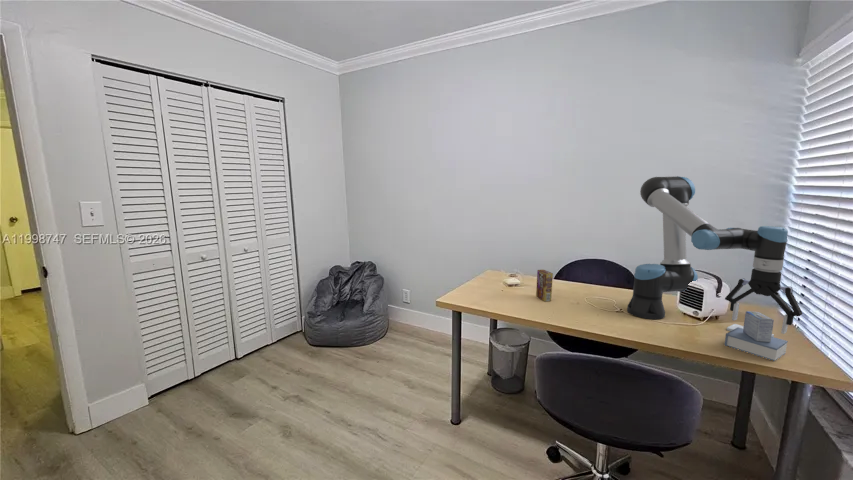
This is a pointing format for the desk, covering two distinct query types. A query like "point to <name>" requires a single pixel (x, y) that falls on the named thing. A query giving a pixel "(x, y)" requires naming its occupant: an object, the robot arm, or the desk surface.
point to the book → (756, 345)
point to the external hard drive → (737, 327)
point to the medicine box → (758, 326)
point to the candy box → (544, 285)
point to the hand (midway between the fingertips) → (758, 325)
